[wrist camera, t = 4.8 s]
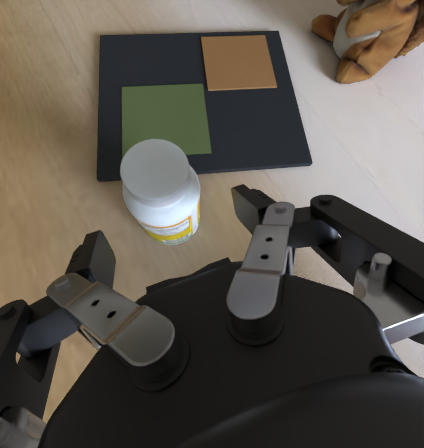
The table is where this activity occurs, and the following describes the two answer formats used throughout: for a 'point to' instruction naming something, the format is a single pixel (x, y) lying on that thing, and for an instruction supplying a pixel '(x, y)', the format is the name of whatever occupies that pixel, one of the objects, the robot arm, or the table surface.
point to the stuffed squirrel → (371, 34)
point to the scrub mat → (199, 100)
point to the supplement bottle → (161, 190)
